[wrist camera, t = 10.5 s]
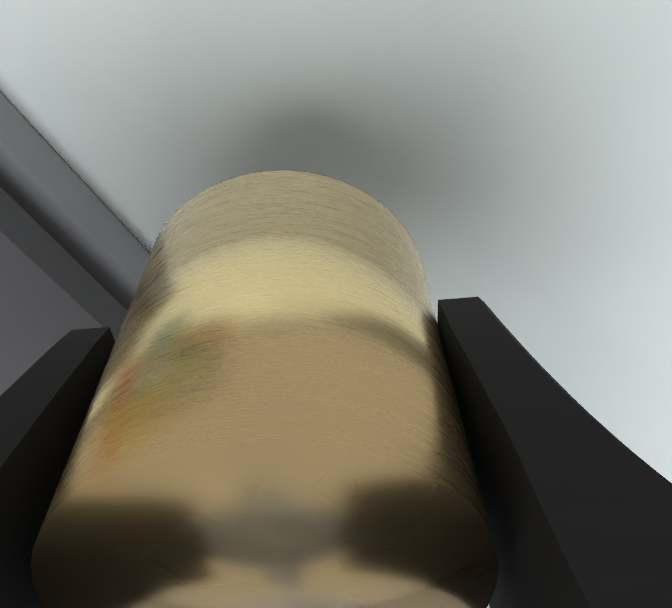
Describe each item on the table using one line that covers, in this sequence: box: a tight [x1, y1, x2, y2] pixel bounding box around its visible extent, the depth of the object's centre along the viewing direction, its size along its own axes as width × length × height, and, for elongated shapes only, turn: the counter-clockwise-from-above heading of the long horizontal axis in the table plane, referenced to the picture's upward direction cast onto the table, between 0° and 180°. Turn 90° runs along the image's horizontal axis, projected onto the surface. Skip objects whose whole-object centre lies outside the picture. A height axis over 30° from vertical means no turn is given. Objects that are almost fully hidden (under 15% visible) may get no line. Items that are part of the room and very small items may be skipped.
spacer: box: [31, 170, 498, 608], centre depth 9 cm, size 5×5×6 cm
